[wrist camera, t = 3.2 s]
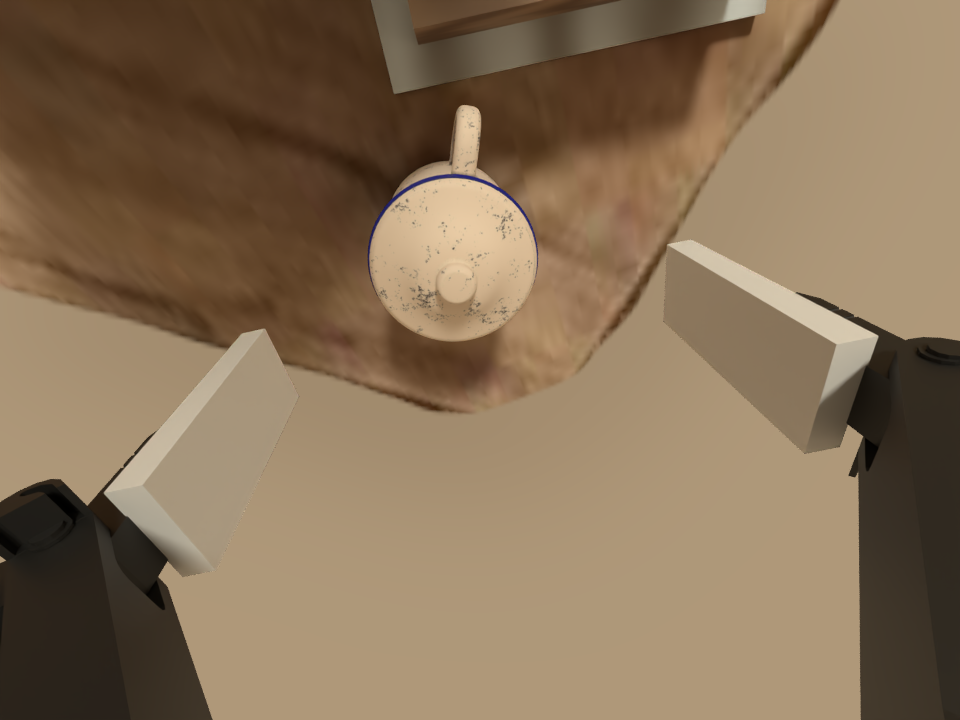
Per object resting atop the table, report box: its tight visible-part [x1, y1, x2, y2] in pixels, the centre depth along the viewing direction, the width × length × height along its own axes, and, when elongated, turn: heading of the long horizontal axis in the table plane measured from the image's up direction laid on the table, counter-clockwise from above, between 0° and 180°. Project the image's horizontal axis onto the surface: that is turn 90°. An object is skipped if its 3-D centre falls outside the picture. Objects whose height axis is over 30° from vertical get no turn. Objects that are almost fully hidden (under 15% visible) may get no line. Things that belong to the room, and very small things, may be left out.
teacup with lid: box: [368, 105, 538, 342], centre depth 24 cm, size 12×9×12 cm
